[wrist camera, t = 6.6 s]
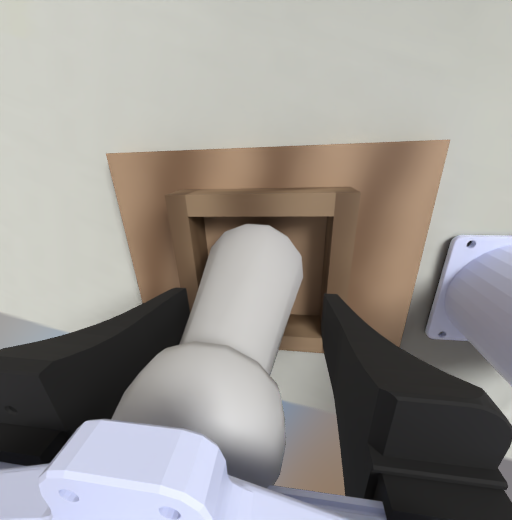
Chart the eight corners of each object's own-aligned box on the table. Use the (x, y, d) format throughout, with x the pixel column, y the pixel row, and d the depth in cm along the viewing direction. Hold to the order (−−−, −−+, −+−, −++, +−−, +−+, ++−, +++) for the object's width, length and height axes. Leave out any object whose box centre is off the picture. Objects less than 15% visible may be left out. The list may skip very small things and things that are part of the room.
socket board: (437, 140, 14) (483, 136, 11) (391, 347, 20) (411, 386, 17) (118, 153, 17) (74, 153, 14) (158, 331, 23) (135, 362, 19)
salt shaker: (256, 195, 16) (139, 329, 4) (320, 255, 16) (389, 514, 5) (202, 256, 18) (20, 464, 6) (261, 306, 19) (207, 570, 7)
